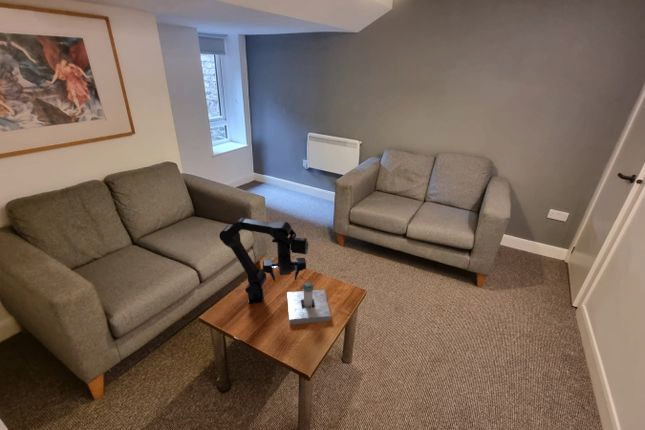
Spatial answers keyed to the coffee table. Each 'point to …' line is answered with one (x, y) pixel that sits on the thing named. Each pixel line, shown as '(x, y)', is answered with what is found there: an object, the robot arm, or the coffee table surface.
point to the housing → (308, 314)
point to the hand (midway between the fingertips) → (285, 280)
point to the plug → (308, 295)
